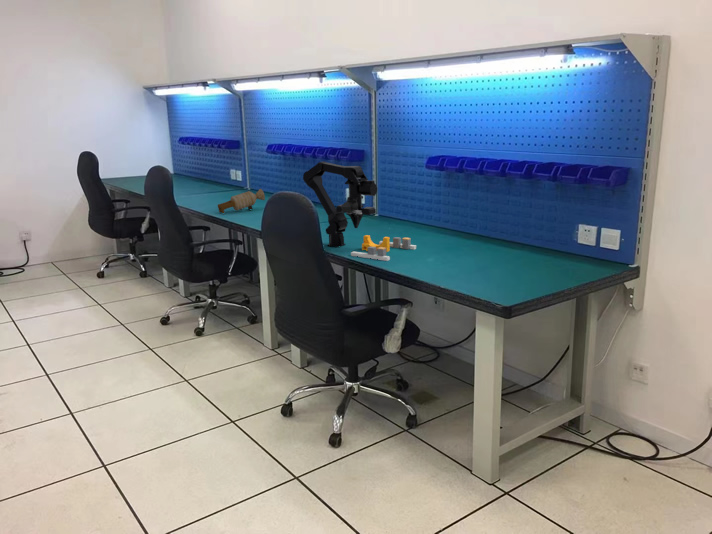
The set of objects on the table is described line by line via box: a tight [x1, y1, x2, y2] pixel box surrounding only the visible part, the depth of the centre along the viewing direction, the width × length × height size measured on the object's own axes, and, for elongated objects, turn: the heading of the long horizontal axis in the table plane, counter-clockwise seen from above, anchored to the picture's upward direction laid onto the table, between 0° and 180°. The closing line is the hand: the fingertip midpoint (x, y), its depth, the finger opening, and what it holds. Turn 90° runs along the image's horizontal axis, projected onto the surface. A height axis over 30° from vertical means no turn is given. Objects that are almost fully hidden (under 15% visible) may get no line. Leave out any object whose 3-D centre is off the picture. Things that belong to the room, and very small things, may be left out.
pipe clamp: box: [361, 234, 391, 253], centre depth 266 cm, size 12×4×6 cm, turn 61°
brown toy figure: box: [217, 188, 266, 214], centre depth 380 cm, size 10×12×30 cm
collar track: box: [350, 236, 417, 262], centre depth 263 cm, size 19×25×5 cm
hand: (356, 228), depth 270 cm, fingers closed
